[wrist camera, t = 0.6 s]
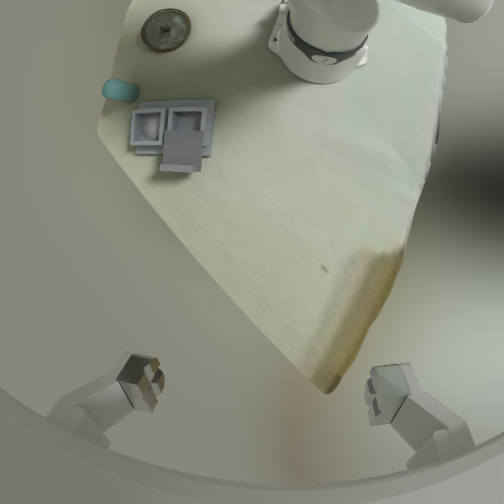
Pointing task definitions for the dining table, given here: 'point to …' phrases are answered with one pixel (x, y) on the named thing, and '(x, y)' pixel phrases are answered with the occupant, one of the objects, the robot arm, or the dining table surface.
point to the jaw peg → (120, 90)
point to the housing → (170, 123)
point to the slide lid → (182, 151)
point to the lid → (166, 30)
